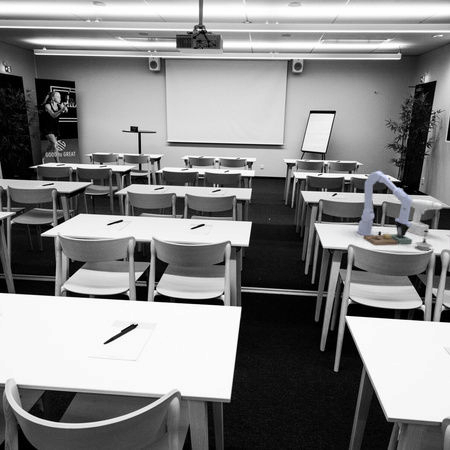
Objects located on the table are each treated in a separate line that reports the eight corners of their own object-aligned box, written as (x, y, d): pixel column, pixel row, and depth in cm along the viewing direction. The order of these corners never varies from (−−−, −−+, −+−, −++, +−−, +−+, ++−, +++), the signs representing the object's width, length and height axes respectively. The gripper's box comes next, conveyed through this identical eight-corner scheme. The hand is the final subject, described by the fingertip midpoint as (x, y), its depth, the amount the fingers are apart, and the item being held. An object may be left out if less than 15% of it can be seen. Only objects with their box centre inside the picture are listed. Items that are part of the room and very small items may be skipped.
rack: (388, 238, 273) (389, 234, 272) (400, 238, 275) (401, 234, 274) (399, 244, 262) (399, 239, 261) (411, 243, 264) (412, 239, 263)
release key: (381, 240, 268) (382, 233, 267) (387, 240, 269) (388, 233, 268) (385, 242, 264) (386, 235, 263) (390, 242, 265) (391, 235, 264)
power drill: (431, 239, 276) (438, 204, 269) (402, 230, 296) (408, 196, 289) (439, 238, 279) (446, 203, 273) (410, 229, 300) (416, 196, 293)
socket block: (363, 238, 271) (364, 235, 270) (385, 238, 274) (385, 235, 273) (374, 245, 258) (375, 242, 257) (397, 244, 261) (397, 241, 260)
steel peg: (395, 238, 270) (396, 226, 267) (400, 238, 270) (402, 226, 268) (398, 240, 266) (400, 228, 264) (404, 239, 267) (405, 228, 264)
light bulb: (421, 227, 259) (415, 229, 253) (437, 230, 252) (431, 233, 246) (418, 245, 262) (411, 247, 256) (434, 249, 255) (427, 252, 249)
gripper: (416, 217, 257) (413, 237, 261) (403, 211, 271) (399, 231, 275) (407, 217, 256) (403, 237, 260) (393, 211, 270) (390, 231, 273)
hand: (400, 234), depth 267 cm, fingers closed on steel peg, 4 cm apart
